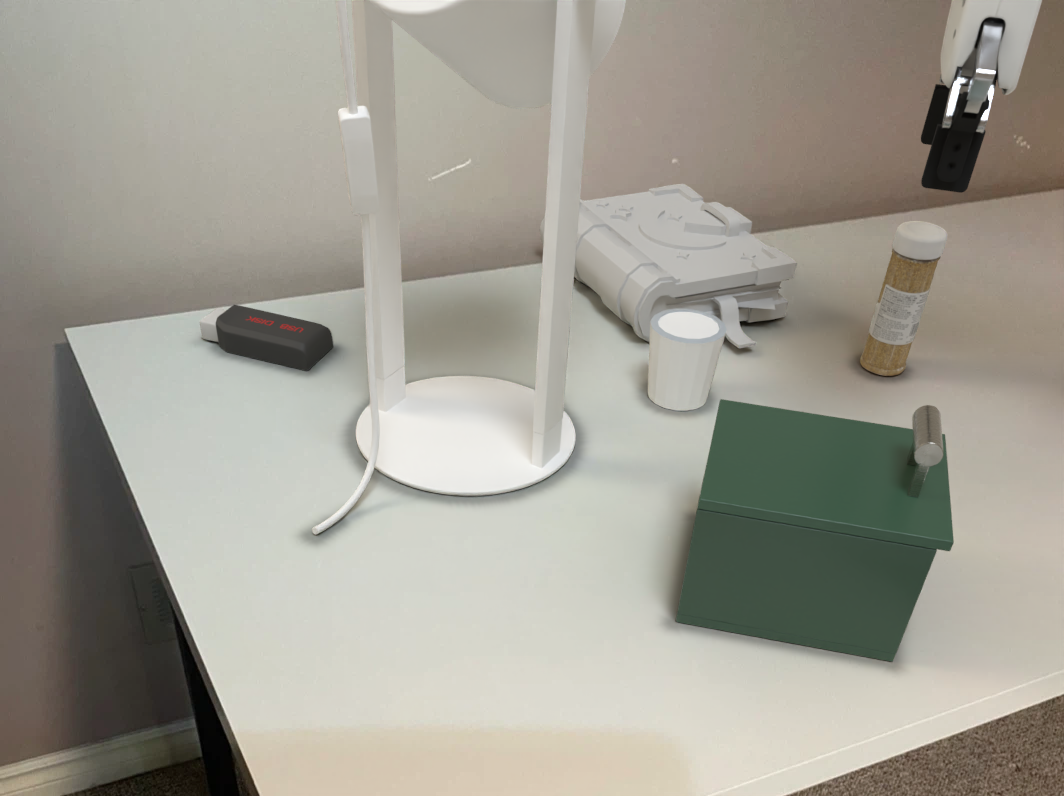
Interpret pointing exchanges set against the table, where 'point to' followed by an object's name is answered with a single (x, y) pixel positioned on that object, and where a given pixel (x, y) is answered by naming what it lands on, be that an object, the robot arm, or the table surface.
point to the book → (678, 260)
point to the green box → (801, 584)
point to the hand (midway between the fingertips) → (941, 165)
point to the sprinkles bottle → (903, 296)
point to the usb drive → (267, 336)
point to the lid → (831, 473)
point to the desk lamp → (372, 181)
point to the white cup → (683, 357)
